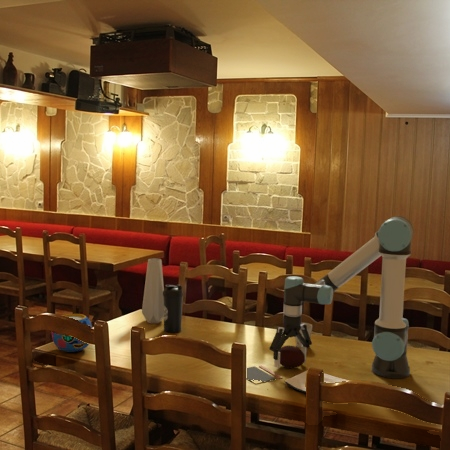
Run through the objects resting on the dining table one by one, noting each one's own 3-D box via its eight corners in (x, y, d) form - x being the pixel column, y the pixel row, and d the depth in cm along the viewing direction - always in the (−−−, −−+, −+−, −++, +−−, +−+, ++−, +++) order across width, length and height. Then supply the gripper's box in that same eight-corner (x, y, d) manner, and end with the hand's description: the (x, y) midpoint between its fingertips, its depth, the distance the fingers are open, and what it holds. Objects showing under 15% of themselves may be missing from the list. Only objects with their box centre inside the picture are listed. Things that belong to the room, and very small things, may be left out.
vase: (156, 317, 306) (157, 256, 302) (169, 322, 297) (170, 259, 293) (137, 320, 298) (138, 258, 294) (149, 325, 289) (150, 262, 285)
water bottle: (160, 328, 285) (161, 283, 283) (180, 327, 288) (181, 282, 286) (164, 334, 276) (165, 287, 273) (184, 332, 279) (185, 286, 276)
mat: (276, 379, 222) (276, 378, 222) (255, 384, 217) (255, 383, 216) (254, 367, 234) (254, 366, 234) (234, 371, 229) (234, 370, 229)
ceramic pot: (60, 360, 237) (60, 325, 235) (46, 348, 251) (45, 315, 250) (99, 352, 247) (99, 319, 246) (83, 341, 262) (83, 309, 260)
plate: (355, 387, 217) (355, 381, 216) (326, 403, 202) (326, 396, 201) (310, 373, 230) (310, 367, 230) (280, 387, 215) (280, 380, 215)
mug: (311, 343, 267) (311, 323, 266) (312, 352, 255) (313, 330, 254) (293, 342, 268) (294, 322, 267) (293, 351, 256) (294, 329, 254)
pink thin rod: (282, 378, 223) (282, 377, 223) (280, 378, 223) (280, 378, 223) (261, 366, 236) (261, 365, 236) (258, 366, 235) (258, 365, 235)
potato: (279, 362, 242) (280, 340, 240) (307, 366, 237) (308, 345, 236) (273, 368, 234) (273, 346, 233) (301, 373, 229) (302, 351, 228)
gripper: (310, 308, 242) (307, 356, 245) (262, 315, 229) (260, 366, 232) (321, 313, 236) (319, 362, 238) (273, 320, 223) (271, 372, 225)
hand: (290, 364), depth 235 cm, fingers open, 13 cm apart
